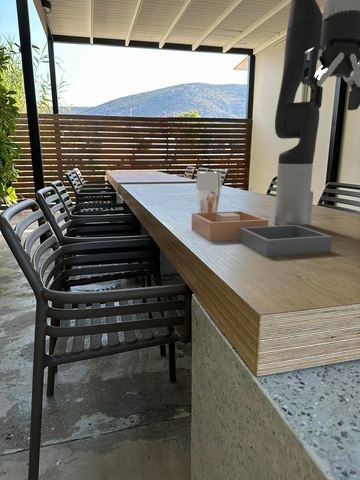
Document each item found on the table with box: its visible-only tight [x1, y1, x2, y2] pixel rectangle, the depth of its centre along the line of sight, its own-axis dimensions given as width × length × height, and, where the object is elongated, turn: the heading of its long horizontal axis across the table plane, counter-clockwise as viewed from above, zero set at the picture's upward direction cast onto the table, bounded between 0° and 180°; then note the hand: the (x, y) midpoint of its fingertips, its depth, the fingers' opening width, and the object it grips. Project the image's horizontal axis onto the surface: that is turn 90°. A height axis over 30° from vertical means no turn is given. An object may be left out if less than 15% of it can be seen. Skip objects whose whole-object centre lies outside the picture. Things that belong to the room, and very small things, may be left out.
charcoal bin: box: [238, 224, 333, 257], centre depth 69 cm, size 14×12×4 cm
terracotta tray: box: [191, 210, 269, 242], centre depth 81 cm, size 14×14×5 cm
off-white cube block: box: [216, 213, 240, 222], centre depth 81 cm, size 4×4×4 cm
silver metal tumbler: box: [195, 171, 223, 213], centre depth 93 cm, size 7×7×15 cm
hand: (334, 109), depth 66 cm, fingers open, 8 cm apart
